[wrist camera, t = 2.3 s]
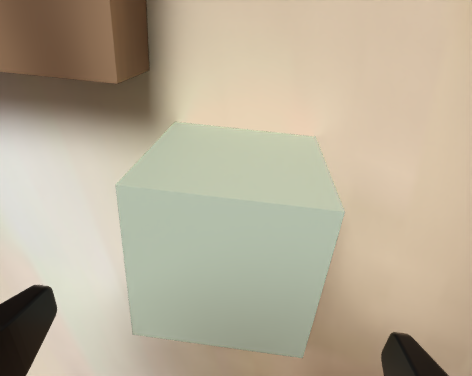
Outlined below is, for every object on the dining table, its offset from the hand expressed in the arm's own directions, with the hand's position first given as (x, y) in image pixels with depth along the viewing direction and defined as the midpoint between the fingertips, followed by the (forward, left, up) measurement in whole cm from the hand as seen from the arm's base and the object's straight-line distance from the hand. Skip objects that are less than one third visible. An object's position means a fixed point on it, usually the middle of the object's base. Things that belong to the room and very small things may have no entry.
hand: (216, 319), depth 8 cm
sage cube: (0, 0, -7) cm, 7 cm away
